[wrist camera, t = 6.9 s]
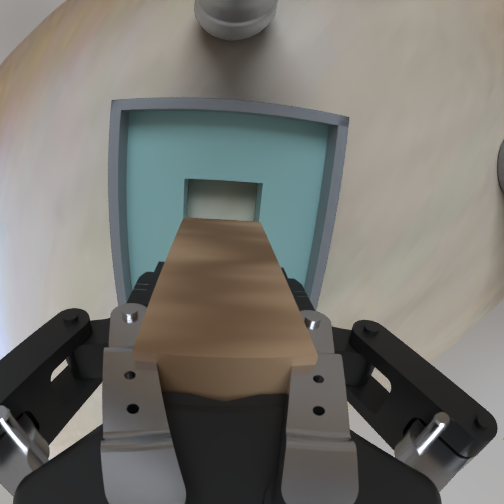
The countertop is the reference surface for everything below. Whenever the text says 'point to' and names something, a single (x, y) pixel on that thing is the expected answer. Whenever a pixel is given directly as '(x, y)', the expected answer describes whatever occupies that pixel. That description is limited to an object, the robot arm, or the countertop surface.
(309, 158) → the box
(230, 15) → the plastic bottle
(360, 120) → the countertop surface
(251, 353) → the peg
